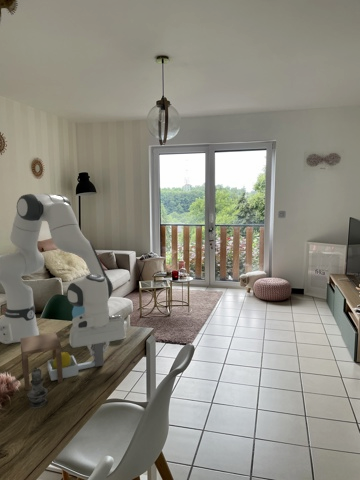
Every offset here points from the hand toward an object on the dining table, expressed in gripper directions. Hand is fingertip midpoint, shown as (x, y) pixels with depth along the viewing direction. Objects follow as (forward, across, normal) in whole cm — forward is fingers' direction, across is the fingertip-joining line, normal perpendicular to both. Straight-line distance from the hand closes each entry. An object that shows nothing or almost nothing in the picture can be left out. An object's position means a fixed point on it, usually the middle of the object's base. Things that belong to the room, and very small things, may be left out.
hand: (98, 353), depth 137 cm
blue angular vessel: (+5, -3, -30) cm, 31 cm away
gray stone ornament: (+5, +23, +17) cm, 29 cm away
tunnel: (+5, +20, 0) cm, 21 cm away
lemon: (+4, +16, 0) cm, 16 cm away
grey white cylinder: (+5, -15, -23) cm, 28 cm away
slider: (+4, +8, 0) cm, 9 cm away
